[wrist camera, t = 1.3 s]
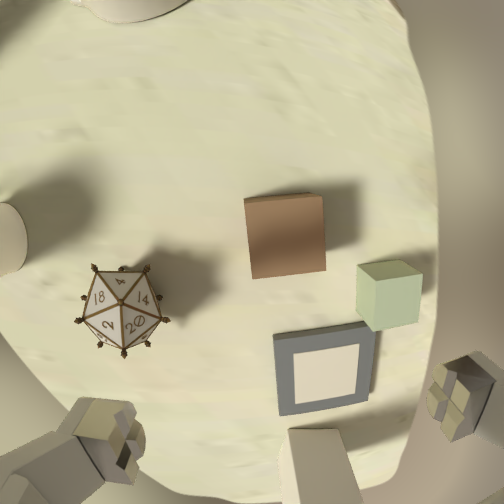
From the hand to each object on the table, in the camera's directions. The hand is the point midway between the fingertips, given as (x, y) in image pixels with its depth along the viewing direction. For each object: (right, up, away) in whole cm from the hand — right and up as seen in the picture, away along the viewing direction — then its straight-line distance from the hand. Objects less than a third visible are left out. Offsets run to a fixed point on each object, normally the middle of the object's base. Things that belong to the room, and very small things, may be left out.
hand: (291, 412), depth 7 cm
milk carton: (+7, -22, +29) cm, 37 cm away
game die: (-13, 0, +23) cm, 26 cm away
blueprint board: (+7, -9, +26) cm, 28 cm away
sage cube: (+12, +1, +24) cm, 27 cm away
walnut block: (+2, +6, +22) cm, 23 cm away
